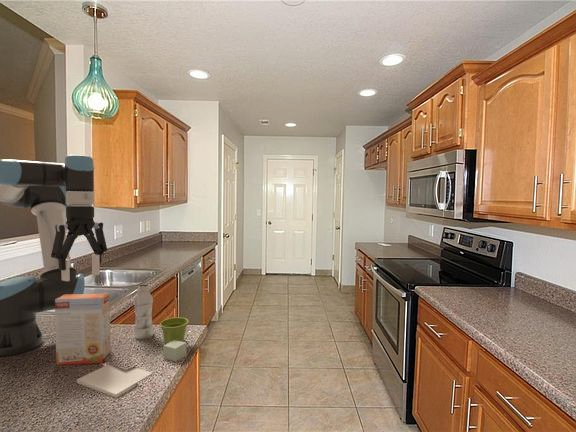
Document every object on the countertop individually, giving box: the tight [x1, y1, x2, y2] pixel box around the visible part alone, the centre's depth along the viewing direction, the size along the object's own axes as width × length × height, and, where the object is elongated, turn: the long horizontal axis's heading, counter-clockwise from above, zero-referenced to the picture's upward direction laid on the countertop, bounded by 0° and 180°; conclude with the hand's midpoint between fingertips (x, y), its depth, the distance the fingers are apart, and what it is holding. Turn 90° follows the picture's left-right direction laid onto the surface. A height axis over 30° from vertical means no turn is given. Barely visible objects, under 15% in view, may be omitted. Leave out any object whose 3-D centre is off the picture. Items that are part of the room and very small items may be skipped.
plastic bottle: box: [133, 284, 155, 340], centre depth 122 cm, size 6×7×20 cm
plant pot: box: [159, 316, 189, 345], centre depth 117 cm, size 9×9×9 cm
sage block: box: [162, 340, 187, 362], centre depth 108 cm, size 5×5×5 cm
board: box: [76, 363, 153, 398], centre depth 95 cm, size 16×12×1 cm
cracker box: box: [54, 293, 112, 366], centre depth 106 cm, size 14×6×21 cm, turn 96°
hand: (81, 277), depth 105 cm, fingers open, 9 cm apart
